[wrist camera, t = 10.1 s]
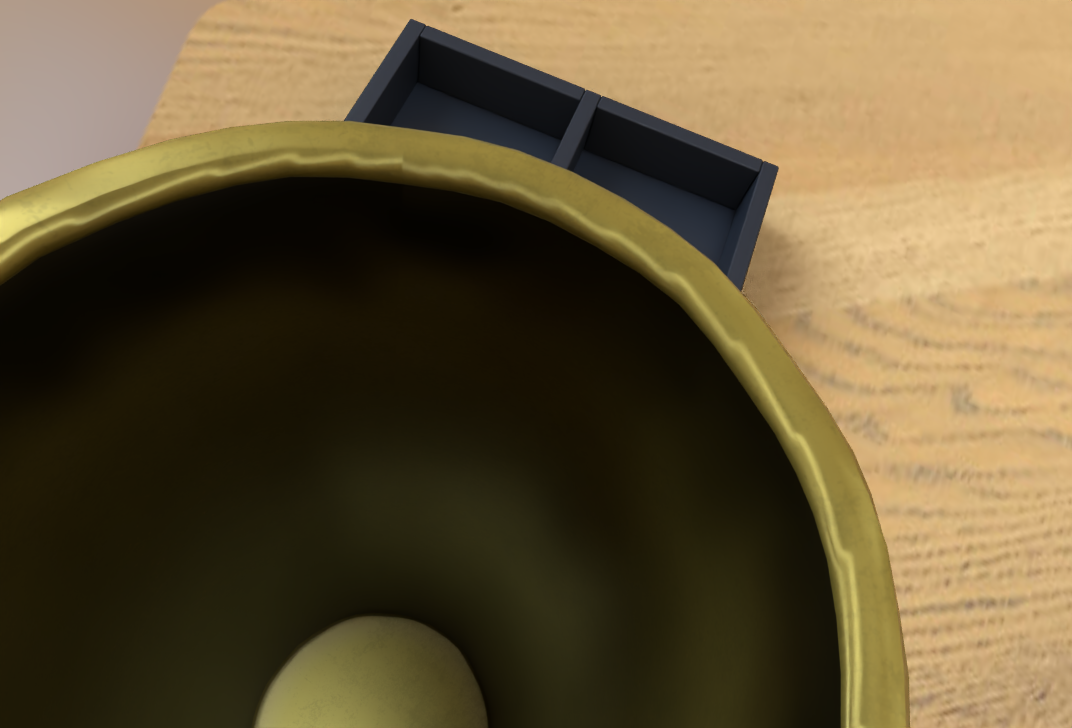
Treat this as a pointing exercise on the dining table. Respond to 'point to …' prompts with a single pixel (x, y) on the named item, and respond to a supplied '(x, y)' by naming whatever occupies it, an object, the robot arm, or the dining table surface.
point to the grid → (576, 138)
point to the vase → (411, 456)
